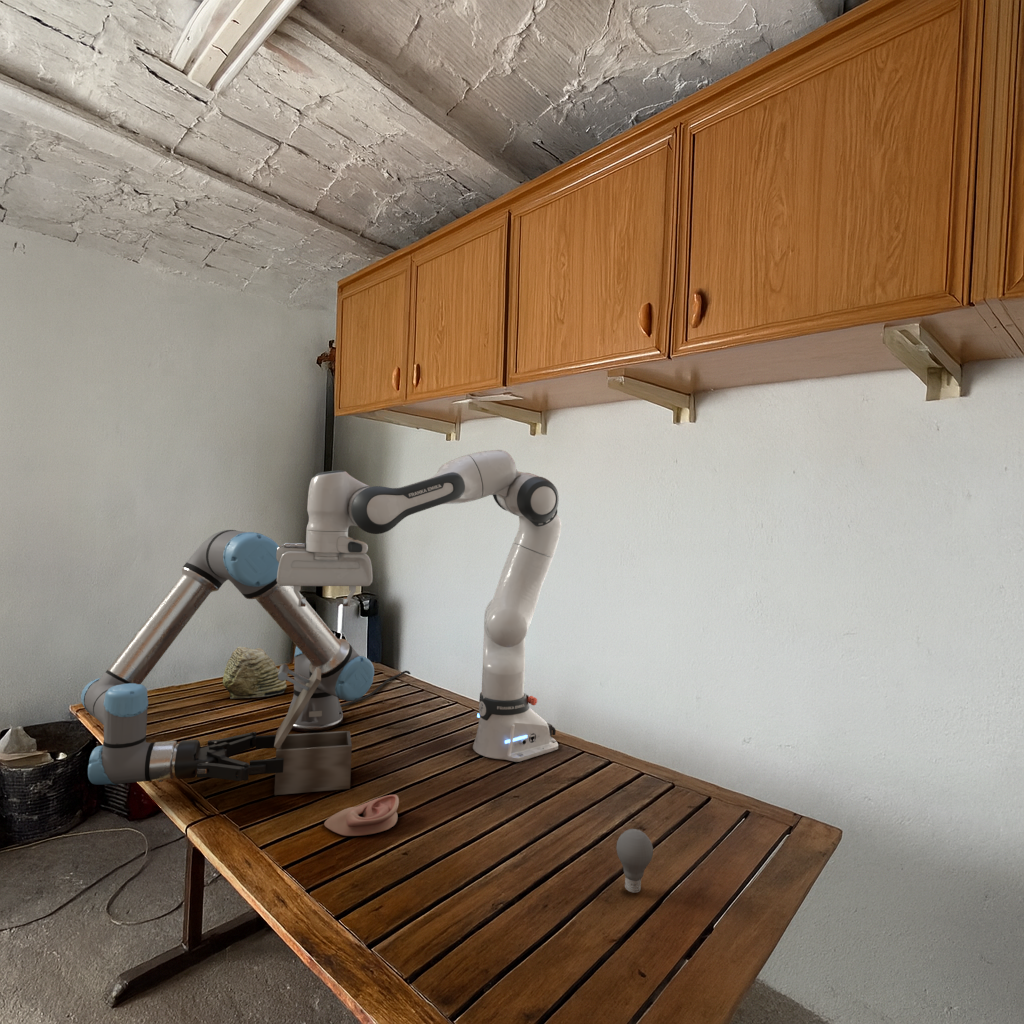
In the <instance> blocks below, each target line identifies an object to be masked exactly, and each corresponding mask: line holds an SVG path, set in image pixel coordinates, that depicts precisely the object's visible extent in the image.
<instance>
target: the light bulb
mask: <svg viewBox="0 0 1024 1024" xmlns="http://www.w3.org/2000/svg"><path fill="white" fill-rule="evenodd" d="M615 849H616V854H617V857H618V859H619V861H620V863H621V865H622V867H623V873H624V874H623V875H624V876H625V878H624V888H625V890H627V891H628V892H630V893H634V894H635V893H639V892H640V891H641V889H642V887H641V886H642V879H643V877H644V875H645V871H646V868H647V867H648V866H649V864H650V863H651V861H652V859H653V855H654V847H653V843H652V841H651V838H649V836H648V835H647V834H646V833H645V832H643V831H642V830H641V829H636V828H629V829H627V830H625V831H623V832H622V833H621V834H620V835H619V837H618V839H617V841H616V847H615Z"/></svg>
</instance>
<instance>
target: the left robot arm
mask: <svg viewBox="0 0 1024 1024" xmlns="http://www.w3.org/2000/svg"><path fill="white" fill-rule="evenodd" d="M279 546H280V545H279V544H278V543H277V542H276V541H275V540H273V539H272V538H271V537H269V536H266V535H264V534H262V533H259V532H254V531H241V530H235V529H224V530H220V531H217V532H215V533H213V534H212V535H210V536H209V537H208V538H207V539H206V540H204V541H203V542H202V543H201V544H200V545H199V547H198V548H197V549H196V550H195V551H194V552H193V553H192V555H191V556H190V557H189V558H188V559H187V561H185V563H184V565H183V566H182V567H181V576H180V577H179V578H178V580H177V581H176V582H175V583H174V585H173V586H172V587H171V588H170V590H169V591H168V593H166V594H165V596H164V597H163V598H162V600H161V601H160V602H159V604H158V605H157V606H156V608H155V609H154V610H153V611H152V612H151V614H150V615H149V616H148V617H147V619H146V620H145V622H144V623H142V625H141V627H140V628H139V629H138V630H137V632H136V633H135V634H134V635H133V637H132V638H131V639H130V641H129V642H128V643H127V644H126V645H125V647H124V648H123V649H122V651H120V653H119V654H118V655H117V657H116V658H115V659H114V661H113V662H112V663H111V665H110V666H109V667H108V668H107V669H106V670H105V672H104V673H103V675H102V676H101V677H97V678H96V679H93V680H91V681H90V682H88V683H87V684H86V685H85V686H84V688H83V689H82V691H81V695H80V702H81V705H82V706H83V708H84V709H85V710H86V712H87V713H88V714H89V715H90V716H92V717H94V718H95V719H96V720H97V721H99V723H101V725H103V743H102V745H97V746H96V747H94V748H93V749H92V751H91V753H90V756H89V760H88V765H87V777H88V780H89V782H90V783H91V784H92V785H113V786H115V785H122V784H123V785H124V784H132V783H143V782H144V783H145V782H155V781H158V783H163V782H164V781H169V780H173V779H174V778H176V779H177V780H185V779H194V778H211V779H212V778H213V779H219V780H227V781H235V782H246V781H248V780H249V779H250V777H249V776H256V775H257V776H258V775H269V774H275V773H283V761H284V758H278V759H276V758H267V759H266V758H265V759H253V760H251V759H250V760H249V762H246V761H241V760H239V759H235V758H231V756H234V755H237V754H239V753H242V752H245V751H248V750H251V749H254V748H255V750H265V749H267V750H268V749H276V748H275V747H274V744H275V738H276V734H269V735H268V734H267V735H257V732H256V731H251V732H247V733H243V734H238V735H237V734H236V735H233V736H229V737H225V738H219V739H210V740H208V741H207V746H201V741H200V740H199V739H189V740H188V739H185V740H181V741H179V742H178V741H177V740H168V741H156V742H155V741H154V742H147V730H148V729H147V728H148V726H147V725H148V709H149V699H148V698H149V697H148V696H149V695H148V688H147V686H146V685H144V684H142V683H143V682H144V681H145V679H146V678H147V677H148V676H149V674H150V673H151V672H152V671H153V669H154V667H156V665H157V664H158V662H159V661H160V660H161V659H162V657H163V656H164V655H165V653H166V652H167V650H168V649H169V648H170V647H171V646H172V644H173V643H174V641H175V640H176V639H177V637H178V636H179V635H180V634H181V632H182V631H183V630H184V628H185V627H186V626H187V624H188V623H189V622H190V620H191V619H192V618H193V616H194V615H195V614H196V613H197V611H198V610H199V608H200V607H202V605H203V603H204V602H205V601H206V600H207V598H208V597H209V595H210V594H211V593H213V592H217V591H219V590H220V588H221V587H222V586H223V585H224V583H226V582H227V581H229V582H231V584H232V585H233V586H234V587H235V588H236V589H237V590H238V591H239V592H240V594H241V595H242V596H243V597H244V598H245V599H246V600H256V601H257V602H258V604H259V605H260V606H261V608H263V609H264V611H265V612H266V613H267V614H268V615H269V616H270V617H271V618H272V620H273V621H274V622H275V623H276V624H277V625H278V627H279V628H280V629H281V631H283V632H284V634H285V635H286V636H287V637H288V638H289V639H290V640H291V642H292V643H293V644H294V645H295V650H294V655H293V657H294V671H293V672H295V673H297V674H299V675H301V676H303V677H305V678H307V679H310V677H311V675H312V674H313V672H314V671H315V669H316V667H317V668H319V669H321V682H320V683H319V685H318V687H317V688H316V690H315V692H314V693H313V695H312V696H311V698H310V700H309V701H308V703H307V704H306V706H305V708H304V709H303V711H302V712H301V714H300V716H299V717H298V719H297V720H296V722H295V724H294V725H293V727H292V729H291V731H294V732H295V731H296V732H301V733H319V732H326V731H329V730H332V729H335V728H337V727H339V726H340V725H342V723H343V722H344V714H343V709H342V708H345V707H347V706H351V705H353V704H356V703H359V702H362V701H364V700H367V699H368V698H370V697H372V696H374V695H375V694H376V693H377V692H378V691H380V690H381V688H383V687H384V686H385V685H386V684H387V683H389V682H390V681H393V680H394V679H396V678H398V677H401V676H402V675H405V674H408V675H411V674H412V673H411V672H410V671H409V670H404V671H401V672H400V673H401V674H400V673H397V674H395V675H393V676H391V677H389V678H387V679H386V680H384V681H383V682H382V683H381V684H380V685H379V686H377V688H376V689H374V690H373V691H371V692H370V693H369V694H366V693H367V692H368V691H369V690H370V689H371V688H372V687H371V686H372V685H373V682H374V676H375V667H374V664H373V662H372V661H371V660H370V659H369V658H368V657H366V656H364V655H360V654H359V653H358V652H357V651H356V650H355V648H354V647H353V646H352V645H351V644H350V642H349V641H348V640H346V639H345V638H338V637H337V636H336V635H335V634H334V632H333V631H332V630H331V629H330V627H329V626H328V625H327V623H325V622H324V620H323V619H322V618H321V617H320V615H319V614H318V613H317V611H315V609H314V608H313V607H312V605H311V604H310V603H309V602H308V601H307V600H306V605H305V607H298V603H299V599H298V598H297V596H296V594H295V593H294V586H280V585H279V584H278V583H277V572H278V566H279V562H278V561H277V559H276V551H277V548H278V547H279ZM299 593H300V595H301V596H302V597H303V598H305V597H304V596H303V594H301V592H300V591H299ZM293 679H294V680H296V681H298V682H300V683H302V684H304V685H306V682H305V681H303V680H301V679H299V678H297V677H295V676H293ZM302 690H303V688H301V687H299V686H297V685H295V684H293V695H292V696H293V697H292V699H291V702H290V704H289V708H288V711H287V713H286V715H287V714H288V712H289V711H290V709H291V707H292V706H293V704H294V703H295V701H296V699H297V698H298V696H299V695H300V693H301V691H302ZM340 701H346V702H345V703H342V704H341V702H340Z"/></svg>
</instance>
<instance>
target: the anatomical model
mask: <svg viewBox="0 0 1024 1024" xmlns="http://www.w3.org/2000/svg"><path fill="white" fill-rule="evenodd" d="M399 804H400V798H399V795H397V794H389V795H384V796H380V797H377V798H375V799H372V800H369V801H367V802H365V803H362V804H359V805H357V806H352V807H351V806H350V807H346V808H344V809H341V810H340V811H338V812H336V813H334V814H333V815H331V816H329V817H328V818H327V819H326V820H325V821H324V822H323V823H324V827H325V828H327V829H328V830H329V831H331V832H333V833H335V834H337V835H339V836H343V837H359V836H367V835H368V836H369V835H374V834H377V833H382V832H384V831H387V830H390V829H391V828H392V827H394V826H395V825H396V824H397V822H398V818H399V817H398V812H397V811H398V808H399Z"/></svg>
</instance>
